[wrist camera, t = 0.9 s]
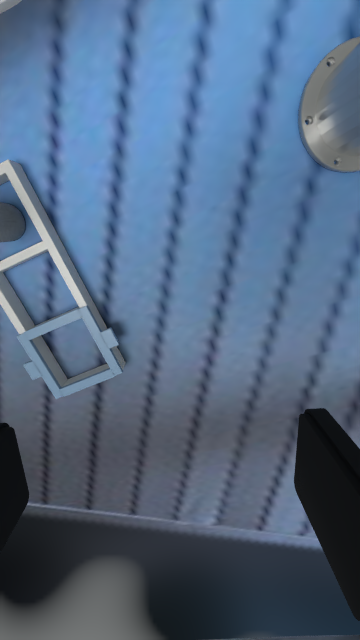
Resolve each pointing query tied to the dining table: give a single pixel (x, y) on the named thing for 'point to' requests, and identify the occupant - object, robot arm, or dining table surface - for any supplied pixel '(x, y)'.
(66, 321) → the white ladder frame
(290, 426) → the dining table surface
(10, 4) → the plate stack
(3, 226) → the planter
